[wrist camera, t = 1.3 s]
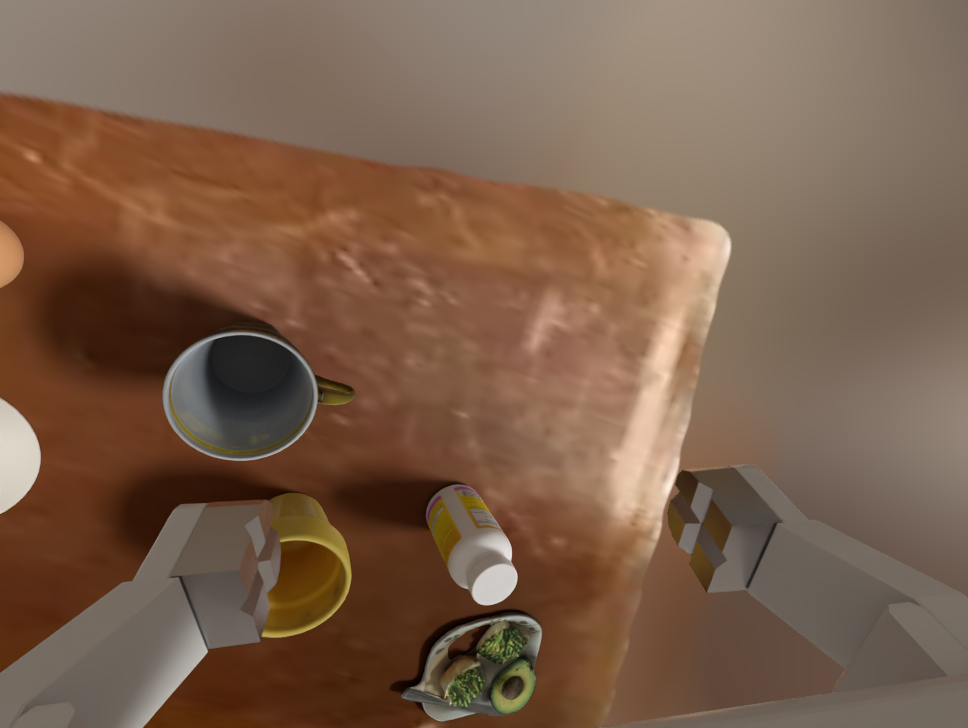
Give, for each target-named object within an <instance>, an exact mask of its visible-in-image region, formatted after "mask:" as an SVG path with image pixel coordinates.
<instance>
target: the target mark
mask: <svg viewBox="0 0 968 728" xmlns="http://www.w3.org/2000/svg"><path fill="white" fill-rule="evenodd" d="M40 464H41V451H40V445H39V442H38V439H37V436H36V434H35V432H34V430H33V428H32V427H31V425H30V424H29V422H28V421H27V420H26V419H25V417H24V416H23V415H22V414H21V413H20V412H19V411H18V410H17V409H16V408H15V407H13V406H12V405H11V404H9V403H8V402H7V401H5V400H4V399H2V398H1V397H0V514H1V513H3V512H5V511H6V510H8V509H9V508H11V507H12V506H14V505H15V504H16V503H17V502H18V501H19V500H21V499H22V498H23V497H24V495H25V494H26V493H27V492H28V491H29V490H30V488H31V487H32V485H33V483H34V482H35V480H36V478H37V475H38V473H39V469H40Z"/></svg>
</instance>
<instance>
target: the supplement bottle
mask: <svg viewBox="0 0 968 728" xmlns="http://www.w3.org/2000/svg"><path fill="white" fill-rule="evenodd" d="M426 520H427V524H428V526H429V528H430V531H431V533H432V535H433V537H434V540H435V542H436V544H437V546H438V548H439V551H440V553H441V555H442V557H443V559H444V561H445V564H446V566H447V568H448V570H449V573H450V575H451V576H452V578H453V580H454V581H455V582H456V583H457V584H458V585H459V586H461V587H463V588H466V589H469V591H470V593H471V595H472V597H473V599H474V600H475V601H476V602H477V603H479V604H482V605H493V604H496V603H499V602H501V601H502V600H504V599H505V598H506V597H507V596H509V595H510V593H511V592H512V591H513V590H514V588H515V586H516V583H517V572H516V570H515V568H514V566H513V564H512V563H511V558H512V549H511V545H510V542H509V540H508V539H507V537H506V535H505V534H504V532H503V531H502V529H501V528H500V526H499V525H498V523H497V522H496V520H495V519H494V517H493V516H492V514H491V513H490V511H489V510H488V508H487V507H486V505H485V504H484V502H483V501H482V499H481V498H480V496H479V495H478V493H477V492H476V491H475V490H474V489H472V488H471V487H469V486H466V485H461V484H456V485H451V486H448V487H445V488H443V489H442V490H440V491H439V492H437V493H436V494H435V495H434V496H433V498H432V499H431V500H430V502H429V504H428V506H427V510H426Z"/></svg>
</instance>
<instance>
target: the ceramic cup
mask: <svg viewBox="0 0 968 728" xmlns="http://www.w3.org/2000/svg"><path fill="white" fill-rule="evenodd" d="M317 383H318V384H320V385H323V386H325V387H328V388H332V389H335V390H331V389H325V388H321V387H319V386H318V385H317ZM337 390H339V391H337ZM354 396H355V391H354V389H353V388H352V387H350V386H348V385H345V384H342V383H339V382H335V381H331V380H328V379H325V378H322V377H320V376H317V375H314V373H313V370H312V368H311V367H310V365H309V363H308V361H307V360H306V359H305V357H304V356H303V355H302V354H301V352H300V351H299V350H298V349H297V348H296V347H295V346H294V345H293V344H292V343H291V342H290V341H288V340H287V339H286V338H285V337H284V336H282V335H281V334H280V333H279V332H278V331H277V330H276V329H275V328H274V327H273V326H272V325H270V324H262V323H252V322H241V321H237V322H235V323H233V324H231V325H229V326H227V327H224V328H220V329H218V330H216V331H214V332H212V333H209V334H207V335H206V336H204V337H202V338H200V339H199V340H197V341H196V342H194V343H193V344H191V345H190V346H188V347H187V348H186V349H185V350H184V351H182V352H181V353H180V354H179V355H178V356H177V358H176V359H175V360H174V362H173V363H172V364H171V366H170V368H169V370H168V372H167V374H166V376H165V380H164V384H163V388H162V402H163V408H164V412H165V414H166V417H167V420H168V421H169V423H170V425H171V427H172V428H173V430H174V431H175V432H176V433H177V434H178V436H179V437H180V438H181V439H182V440H184V441H185V442H186V443H187V444H188V445H190V446H191V447H193V448H195V449H196V450H198V451H200V452H202V453H204V454H207V455H209V456H212V457H216V458H220V459H226V460H236V461H244V460H254V459H259V458H263V457H267V456H270V455H273V454H275V453H277V452H280V451H281V450H283V449H285V448H287V447H288V446H290V445H291V444H292V443H294V442H295V441H296V440H297V439H298V438H299V437H300V436H301V435H302V434H303V433H304V432H305V431H306V429H307V428H308V426H309V425H310V423H311V421H312V419H313V417H314V414H315V412H316V408H317V402H318V403H322V404H328V405H338V404H345V403H348V402H350V401H351V400H352V399H353V398H354Z"/></svg>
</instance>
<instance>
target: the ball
mask: <svg viewBox="0 0 968 728" xmlns="http://www.w3.org/2000/svg"><path fill="white" fill-rule="evenodd" d="M23 262H24V252H23V247H22V244H21V242H20V240H19V239H18V237H17V235H16V234H15V233H14V232H13V231H12V230H11V229H10V228H9V227H8V226H7V225H6V224H5V223H3V222H2V221H0V288H1V287H3V286H5V285H7V284H8V283H10V282H11V281H12V280H14V279H15V277H16V276H17V275H18V274H19V272H20V271H21V269H22V266H23Z"/></svg>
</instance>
